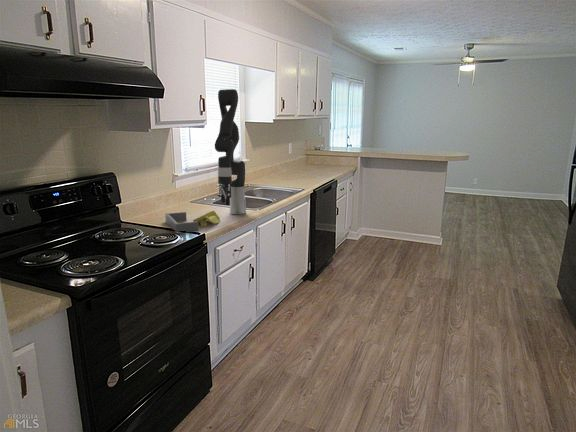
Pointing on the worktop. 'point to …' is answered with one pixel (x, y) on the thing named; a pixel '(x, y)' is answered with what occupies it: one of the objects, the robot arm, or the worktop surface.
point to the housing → (181, 216)
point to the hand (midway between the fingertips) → (225, 203)
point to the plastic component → (208, 218)
